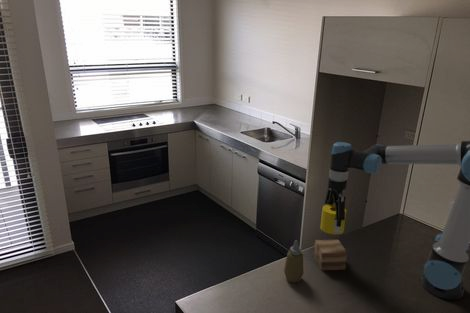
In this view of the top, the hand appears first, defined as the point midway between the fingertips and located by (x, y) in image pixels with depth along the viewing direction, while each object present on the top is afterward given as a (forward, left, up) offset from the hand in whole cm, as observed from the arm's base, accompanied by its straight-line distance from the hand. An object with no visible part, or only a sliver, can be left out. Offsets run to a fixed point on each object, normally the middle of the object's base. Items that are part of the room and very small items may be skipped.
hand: (332, 226), depth 158 cm
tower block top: (0, 0, -14) cm, 14 cm away
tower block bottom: (0, -1, -19) cm, 19 cm away
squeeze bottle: (-11, +19, -19) cm, 29 cm away
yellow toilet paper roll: (0, 0, -1) cm, 1 cm away
